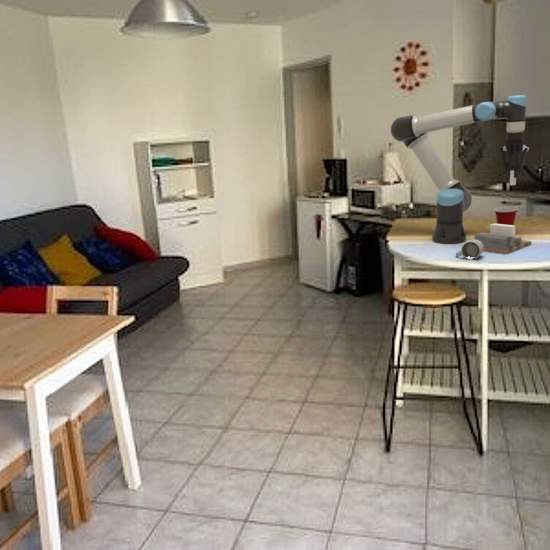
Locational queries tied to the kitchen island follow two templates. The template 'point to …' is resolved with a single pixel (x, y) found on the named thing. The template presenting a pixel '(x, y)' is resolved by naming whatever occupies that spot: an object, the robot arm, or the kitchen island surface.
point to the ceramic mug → (471, 249)
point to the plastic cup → (506, 215)
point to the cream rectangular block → (503, 229)
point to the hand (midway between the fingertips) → (512, 184)
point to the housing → (501, 243)
